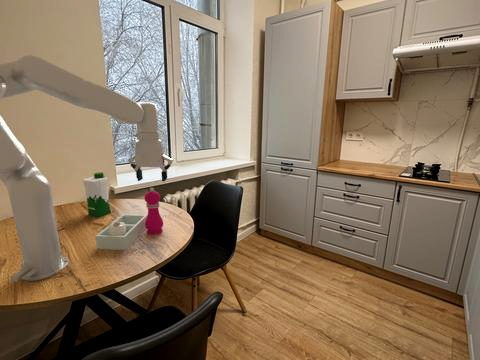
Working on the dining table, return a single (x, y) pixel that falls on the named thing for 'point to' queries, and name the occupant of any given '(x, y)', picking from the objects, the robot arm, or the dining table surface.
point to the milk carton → (97, 195)
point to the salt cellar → (117, 229)
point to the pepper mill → (153, 213)
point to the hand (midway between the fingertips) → (152, 180)
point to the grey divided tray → (133, 230)
